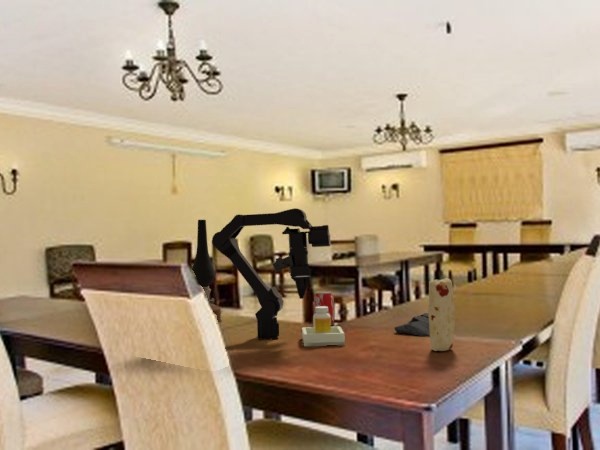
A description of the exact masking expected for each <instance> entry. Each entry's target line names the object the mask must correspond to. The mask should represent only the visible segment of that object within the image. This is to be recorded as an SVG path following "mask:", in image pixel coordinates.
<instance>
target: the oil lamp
mask: <svg viewBox="0 0 600 450" xmlns="http://www.w3.org/2000/svg"><path fill="white" fill-rule="evenodd" d="M207 231H208V230H207V220H206V219H198V220H197V242H196V253H195V258H194V261H193V265H192V267H191V269H192V270H193V271H194V273H195V275H196V277H197V280H198V282H199V284H200V285H201V286H202V287H203V289H204V291H205V293H206V295H207V298H208V301H209V303H210V302H211V303H210V305H211V307H212V310H213V312H214V313H215V314H216V315H217V320H218V322H219V323H218V324H220V323H222V320H223V319H222V317H221V314H222V313H221V307H220V306H218V305H216V304H215V303H214V302H215V298H213V297H211V299H210V298H209V296H210V294H211V291H212V289H211V288H210V287H209V286H210V285H211V284H212V283H213V282H214V281H215V278H216V272H215V267H214V265H213V263H212V260H211V256H210V254H209V253H210V252H209V246H208V233H207Z"/></svg>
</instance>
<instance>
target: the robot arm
mask: <svg viewBox="0 0 600 450" xmlns="http://www.w3.org/2000/svg"><path fill="white" fill-rule="evenodd" d="M268 225H269V226H271V225H274V226H275V225H279V226H280V225H281V226H286V228H285V229H284V230H283V231H282V232H281V234H282V235H288V249H289V250H288V253H287V254H288V255H287V256H285V257H281V256H280V257H277V258H275V261H274V262H272V263H271V264H272V267H273V269H274V271H275V273H278V272H280V271H283V270H284V269H286V268H288V273H289V276H290V279H292V280H293V281H294V283H295V287H296V290H297V295H298V296H299V300H302V299H304V298H305V294H306V291H307V288H308V285H309V283H310V280H311V276H312V269H311V268H310V267H309V258H308V254H309V251H308V245H311V247H312V248H319V247H320V248H322V247H331V243H332V242H331V234H330V227H329V225H328V224H324V225H323V224H322V225H317V226H316V225H314V226H313V225H312V224H311V222H310V221H309V220H308V219H307V214H306V211H304V210H303V209H301V208H295V207H294V208H290V209H286V210H282V211H278V212H274V213H271V212H270V213H257V214H236V215H234V216H233V218H232V219H231V220H230V221H229V222H228V223H227V224H226V225H225V226H224V227H223V228H222V229H220V231H217V232H215V233H214V234H213V235H212V238H211V245H212V246H213V247H214V248H215V249H216V250H217V251H218V252H220V254H222V255H223V256H225V257H226V258H228V260H230V261H231V263H232V265H234V267H235V268H236V269H237V271H238V272H239V274H241V276H242V277H243V279H244V280H245V282H247V284H248V285H249V287H250V288H251V289H252V291H253V292H254V293H255V295H256V299H257V301H258V304H259V305H260V309H258V310H257V312H255V318H256V320H257V322H256V323H257V325H256V326H257V329H256V330H257V331H256V333H257V336H256V340H277V339H278V338H279V336H280V322H279V321H278V317H277V316H278V313H279V312H280V311H282V309H283V307H284V299H283V295H282V294H280V293H279V291H278V288H277V287H276V286H273V287H270V286H268V285H267V284H266V283H265V282H264V280H263V279H262V278H261V276H260V275H259V274H258V272H257V271H256V270H255V269H254V268H253V266H252V264H251V263H250V262H249V261H248V260H247V258H246V257H245V255H244V254H243V253H242V251H241V250H240V247H239V244H238V242H237V240H236V238H237V237H238V236H239V235H240V233H241V232H242V230H243V229H244V228H245V227H250V226H251V227H252V226H255V227H256V226H268ZM290 227H295V228H290ZM296 227H299V228H296ZM300 228H301V229H302V230H306V231H301V230H300ZM307 230H308V231H307Z"/></svg>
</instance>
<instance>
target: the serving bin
mask: <svg viewBox="0 0 600 450" xmlns="http://www.w3.org/2000/svg"><path fill="white" fill-rule="evenodd" d="M345 336H346V334H345V332H344V331H343V329H342V327H341V326H339V325H337V326H331V333H317V334H313V326H312V327H311V326H307V327H306V326H304V327H302V328H301V339H303V340H302V343H304V344H303V346H304V347H325V346H326V347H328V346H327V345H337V346H345V345H346V344H345V343H346V342H345V341H346V339H345Z"/></svg>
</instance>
